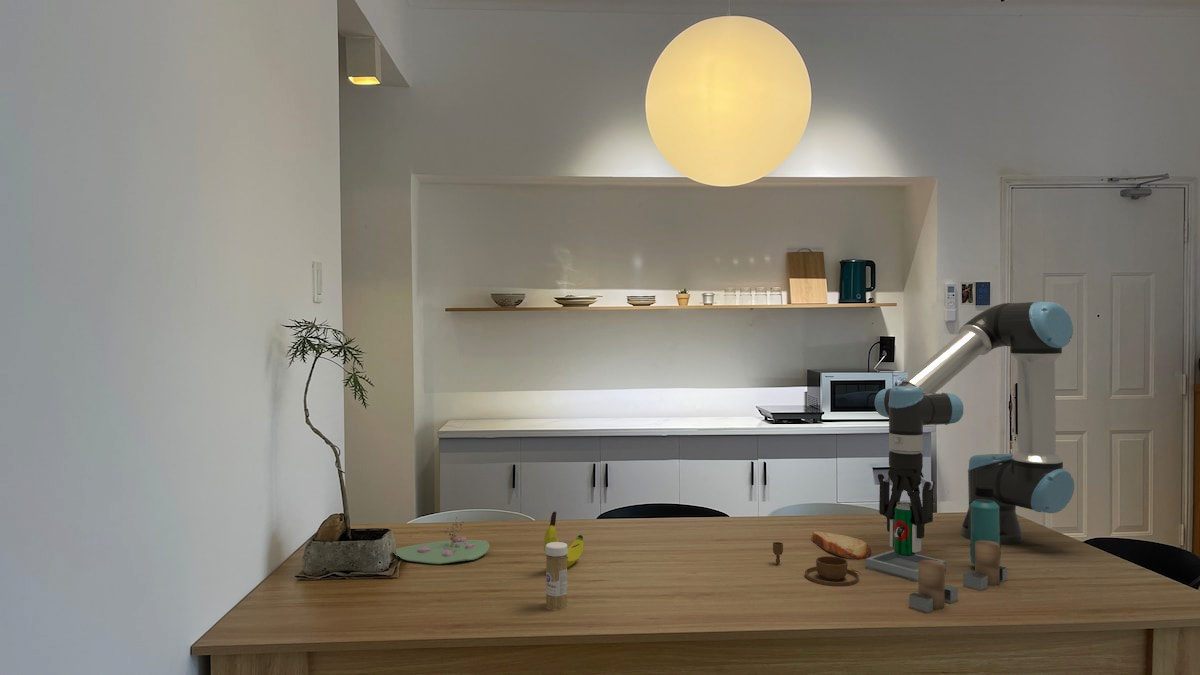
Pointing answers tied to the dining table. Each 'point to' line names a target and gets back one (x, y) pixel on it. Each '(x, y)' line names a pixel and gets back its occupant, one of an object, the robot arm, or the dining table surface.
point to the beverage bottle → (984, 519)
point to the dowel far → (988, 560)
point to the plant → (445, 550)
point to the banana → (550, 536)
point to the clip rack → (954, 590)
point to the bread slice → (842, 545)
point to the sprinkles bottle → (556, 576)
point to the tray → (897, 564)
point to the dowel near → (932, 581)
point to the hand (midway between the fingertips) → (905, 548)
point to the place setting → (824, 568)
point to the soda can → (903, 528)
